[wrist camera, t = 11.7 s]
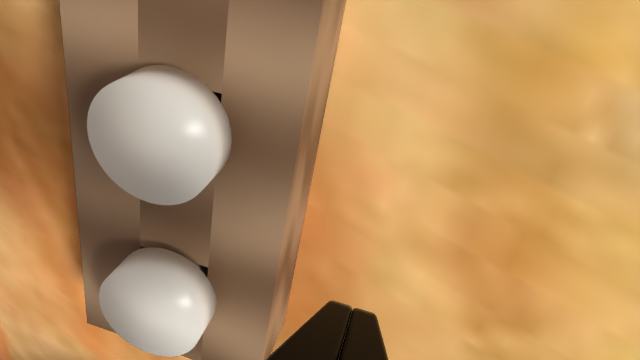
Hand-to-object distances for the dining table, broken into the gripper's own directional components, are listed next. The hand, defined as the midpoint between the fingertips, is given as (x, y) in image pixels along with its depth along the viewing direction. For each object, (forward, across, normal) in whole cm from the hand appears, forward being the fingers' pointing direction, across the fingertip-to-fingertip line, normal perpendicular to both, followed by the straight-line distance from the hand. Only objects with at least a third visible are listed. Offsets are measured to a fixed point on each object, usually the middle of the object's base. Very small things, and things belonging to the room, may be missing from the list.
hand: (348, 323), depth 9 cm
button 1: (+13, +8, +10) cm, 18 cm away
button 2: (+13, +8, +2) cm, 15 cm away
